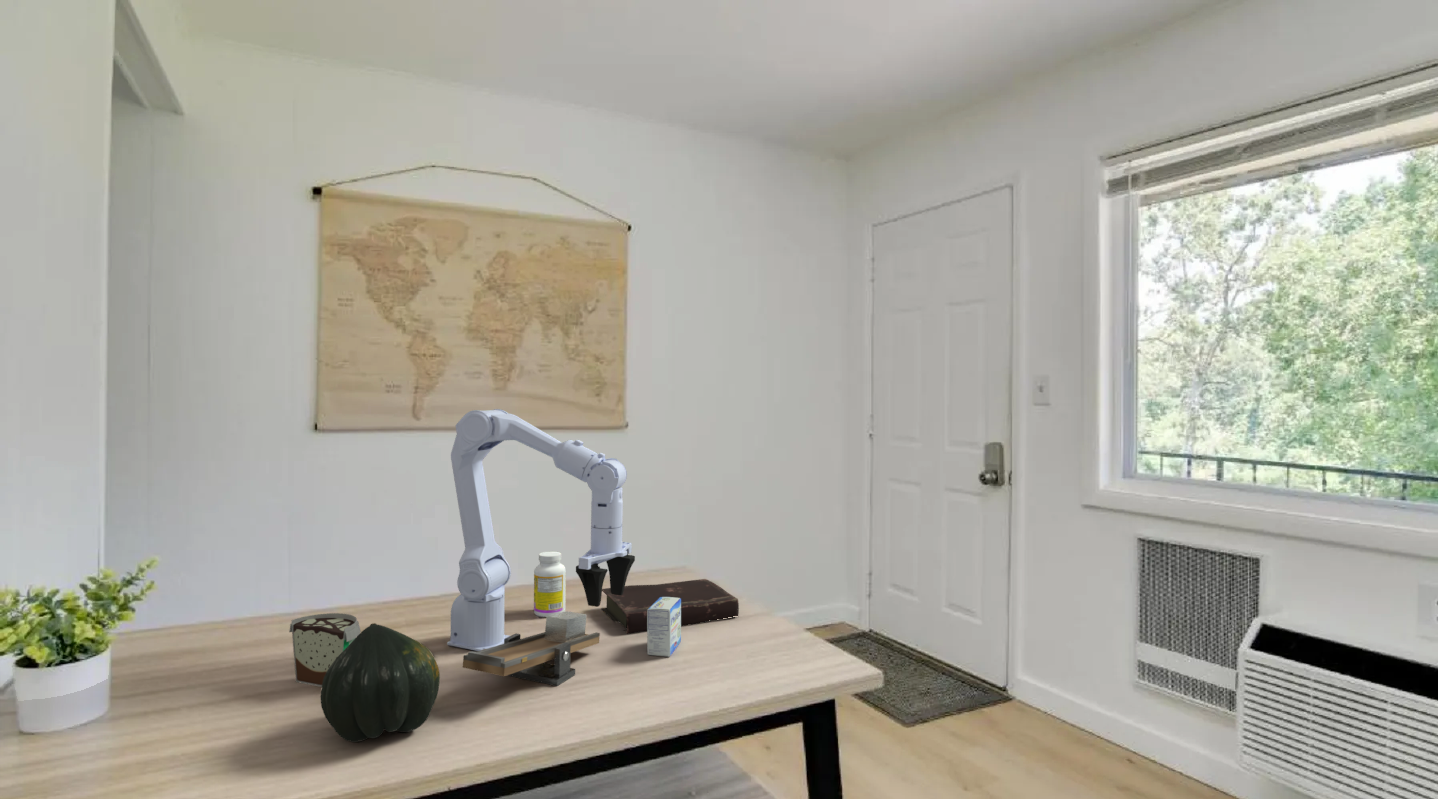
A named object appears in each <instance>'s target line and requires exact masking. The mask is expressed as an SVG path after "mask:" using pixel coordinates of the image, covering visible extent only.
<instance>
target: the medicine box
mask: <svg viewBox="0 0 1438 799" xmlns="http://www.w3.org/2000/svg"><path fill="white" fill-rule="evenodd" d="M646 634H647V635H646V638H647V640H646V642H647V645H646V647H647V655H648V656H653V657H655V656H656V657H668V658H670V657H671V656H672V654H673V653H674V652H675V651H676V648H678V647H679V645H680V643H681V640H682V626H681V599H680V598H675V597H660V598H659V599H658V600H657V601H656V602H655V603H654V604H653V605H652V606H651V607H650V608H649V609H648V610H647V631H646Z"/></svg>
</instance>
